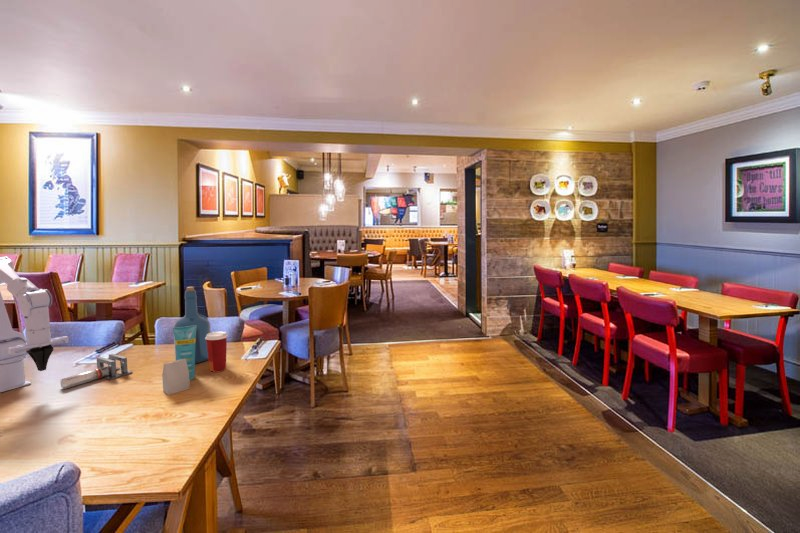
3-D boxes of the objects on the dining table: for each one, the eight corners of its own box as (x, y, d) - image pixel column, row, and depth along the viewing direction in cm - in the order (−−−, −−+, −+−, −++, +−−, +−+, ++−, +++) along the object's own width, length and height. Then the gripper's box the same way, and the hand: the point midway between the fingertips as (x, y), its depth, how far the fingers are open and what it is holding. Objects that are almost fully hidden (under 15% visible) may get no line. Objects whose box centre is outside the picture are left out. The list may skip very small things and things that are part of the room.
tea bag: (189, 388, 131) (188, 359, 130) (167, 395, 126) (166, 365, 125) (184, 385, 134) (183, 357, 133) (163, 392, 128) (161, 362, 127)
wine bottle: (196, 366, 151) (192, 290, 148) (167, 363, 154) (162, 288, 151) (219, 355, 165) (216, 285, 162) (191, 353, 167) (188, 283, 164)
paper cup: (232, 366, 152) (231, 331, 150) (221, 373, 144) (220, 336, 143) (213, 365, 153) (212, 330, 151) (202, 372, 145) (200, 336, 144)
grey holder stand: (109, 380, 137) (108, 363, 137) (92, 374, 142) (91, 358, 142) (120, 376, 141) (119, 360, 140) (103, 371, 146) (102, 355, 145)
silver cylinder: (65, 390, 129) (65, 381, 129) (60, 387, 131) (60, 377, 130) (112, 376, 142) (112, 367, 141) (106, 373, 143) (107, 364, 143)
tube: (176, 382, 136) (173, 329, 134) (175, 378, 140) (172, 326, 138) (199, 378, 140) (197, 326, 138) (198, 374, 144) (195, 323, 142)
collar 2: (121, 376, 141) (120, 359, 140) (105, 371, 146) (103, 355, 145) (132, 373, 144) (131, 356, 144) (115, 368, 149) (114, 352, 148)
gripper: (13, 335, 115) (17, 380, 116) (72, 324, 128) (75, 364, 129) (2, 332, 118) (7, 375, 120) (61, 322, 131) (64, 361, 132)
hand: (41, 369), depth 125 cm, fingers closed
